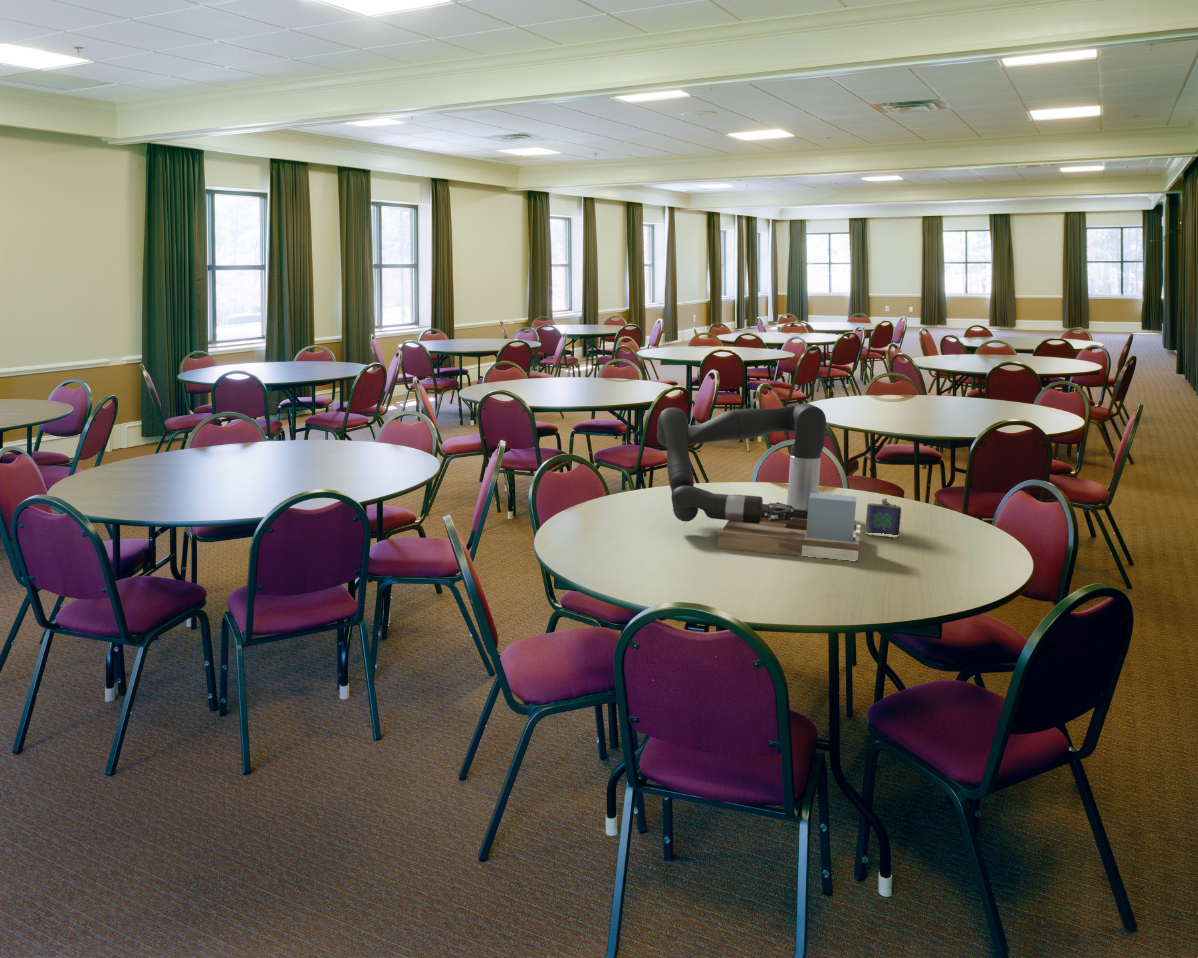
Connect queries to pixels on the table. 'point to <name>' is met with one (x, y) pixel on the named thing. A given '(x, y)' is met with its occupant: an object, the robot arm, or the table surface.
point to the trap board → (785, 539)
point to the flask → (883, 518)
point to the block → (831, 517)
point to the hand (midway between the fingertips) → (808, 514)
